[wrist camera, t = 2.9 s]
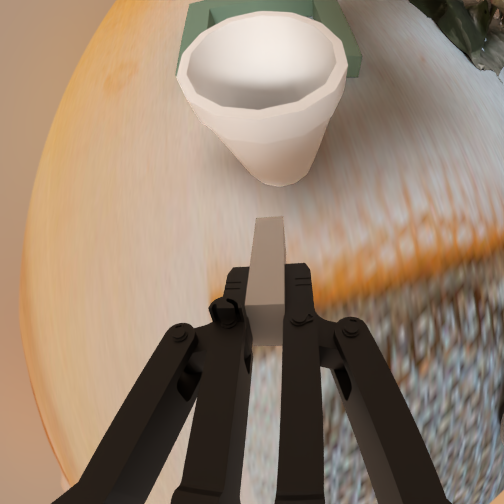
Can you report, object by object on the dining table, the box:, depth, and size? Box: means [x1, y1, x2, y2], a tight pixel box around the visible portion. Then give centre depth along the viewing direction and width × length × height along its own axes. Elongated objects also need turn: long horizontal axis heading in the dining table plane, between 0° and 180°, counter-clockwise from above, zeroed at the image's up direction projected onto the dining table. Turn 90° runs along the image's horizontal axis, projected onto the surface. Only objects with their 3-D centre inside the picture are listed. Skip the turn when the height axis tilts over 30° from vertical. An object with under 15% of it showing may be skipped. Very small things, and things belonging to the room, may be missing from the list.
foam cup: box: [176, 11, 348, 187], centre depth 19 cm, size 10×9×13 cm
